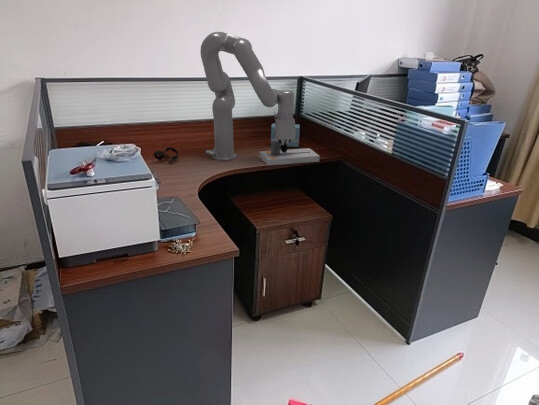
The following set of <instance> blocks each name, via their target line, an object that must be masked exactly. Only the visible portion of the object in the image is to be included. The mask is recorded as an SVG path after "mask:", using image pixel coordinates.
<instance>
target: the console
mask: <svg viewBox="0 0 539 405" xmlns="http://www.w3.org/2000/svg"><path fill="white" fill-rule="evenodd" d="M259 158H260V159H261V160H262V161H264V162H265V163H266V164H267V165H266V164H265V163H264V162H263V163H264V164H265V165H266V166H276V165H278V166H279V165H292V164H293V165H294V164H304V163H318V162H320V155H319V154H318V153H316V152H315V151H314V150H313V149H311V148H308V147H307V148H293V149H291V148H290V149H287V150H286V153H285V152H284V153H283V152H282V151H281V149H280V155H275V156H274V155H273V154H272V153H271V150H264V151H263V150H262V151H259Z"/></svg>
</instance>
